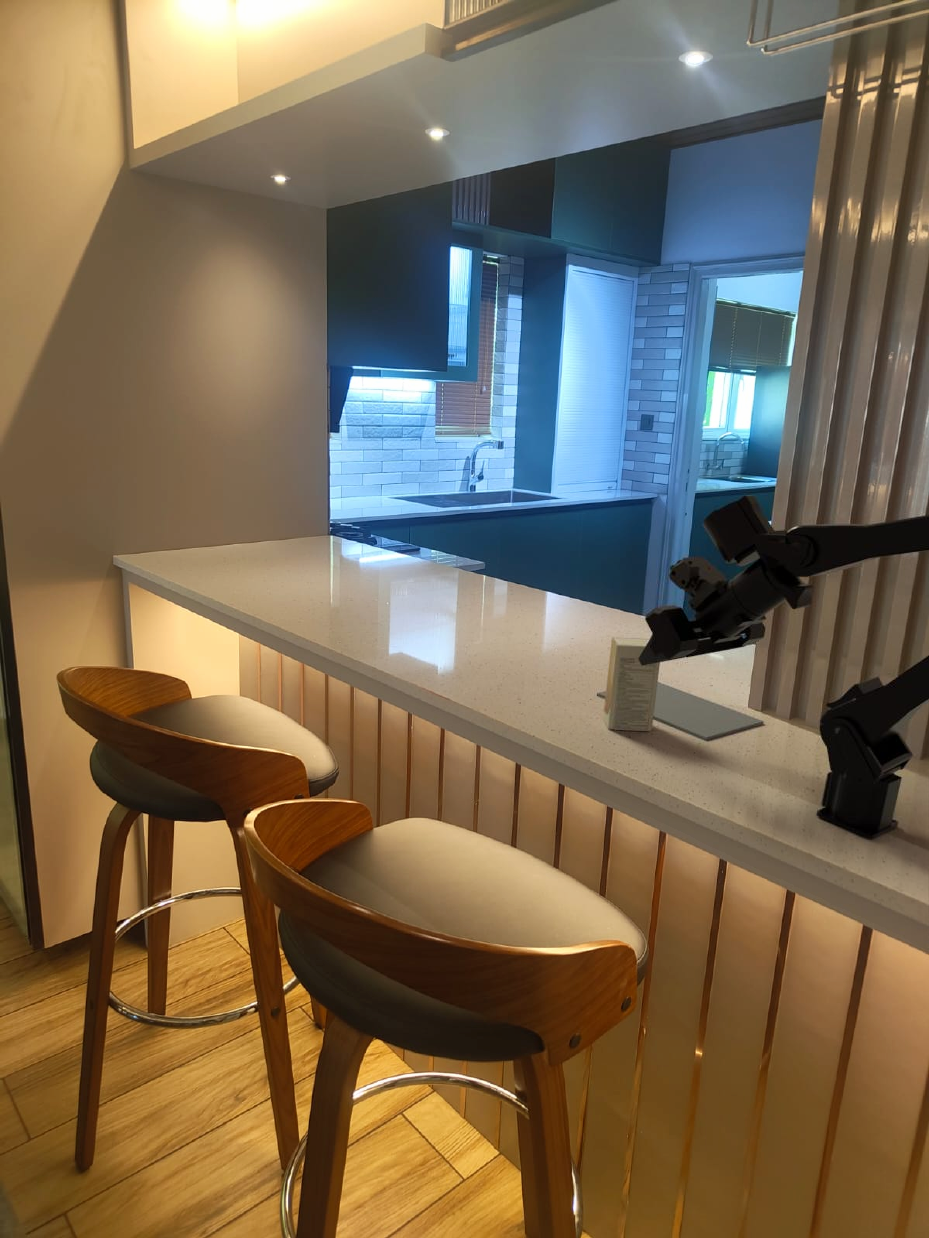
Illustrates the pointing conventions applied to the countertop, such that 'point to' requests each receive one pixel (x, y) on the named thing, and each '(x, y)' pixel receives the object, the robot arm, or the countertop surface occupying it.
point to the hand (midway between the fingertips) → (663, 658)
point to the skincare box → (630, 687)
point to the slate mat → (697, 714)
